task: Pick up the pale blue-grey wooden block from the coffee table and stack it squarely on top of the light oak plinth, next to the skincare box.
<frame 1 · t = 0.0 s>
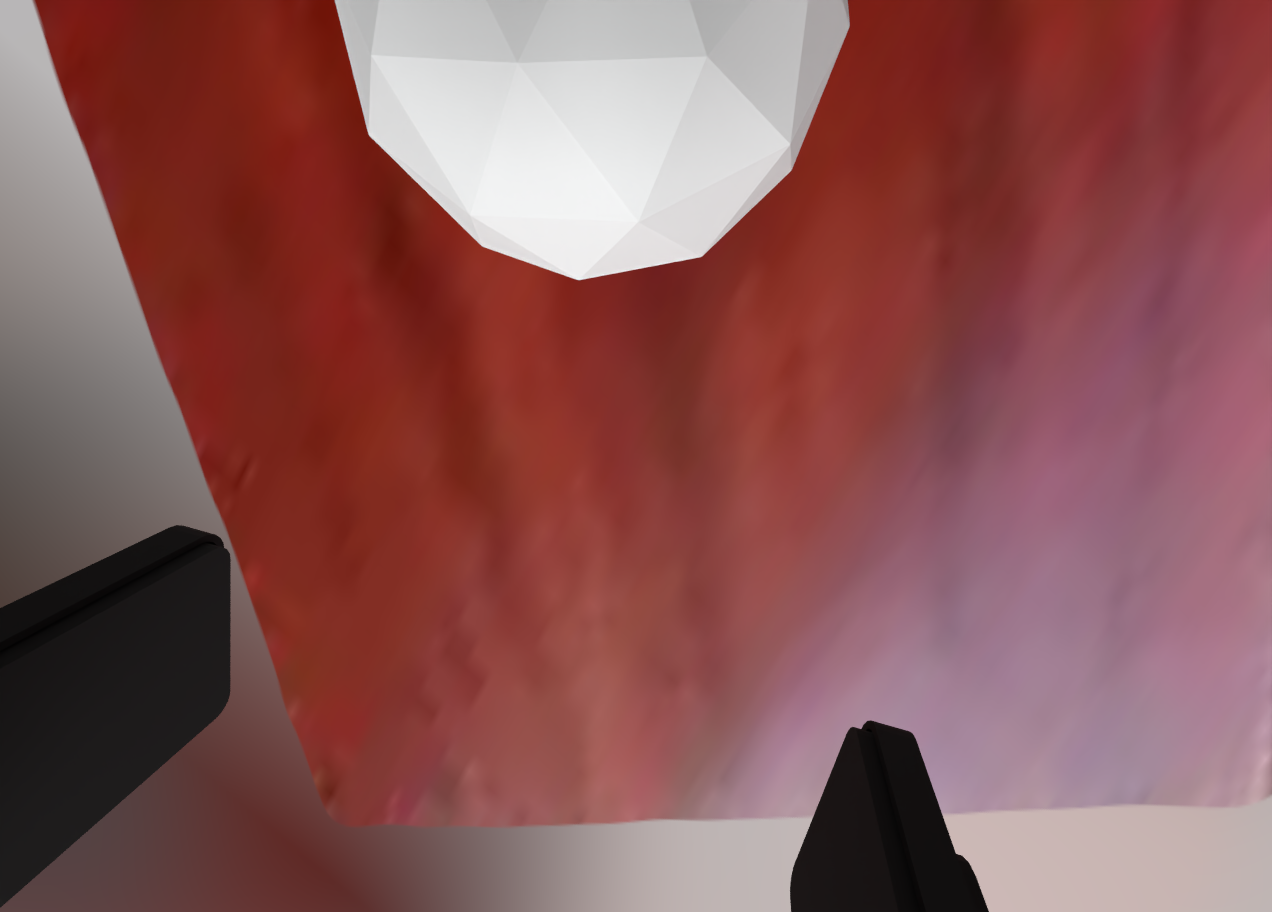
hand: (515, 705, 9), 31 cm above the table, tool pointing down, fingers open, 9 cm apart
geometric sculpture: (633, 84, 35), on the table
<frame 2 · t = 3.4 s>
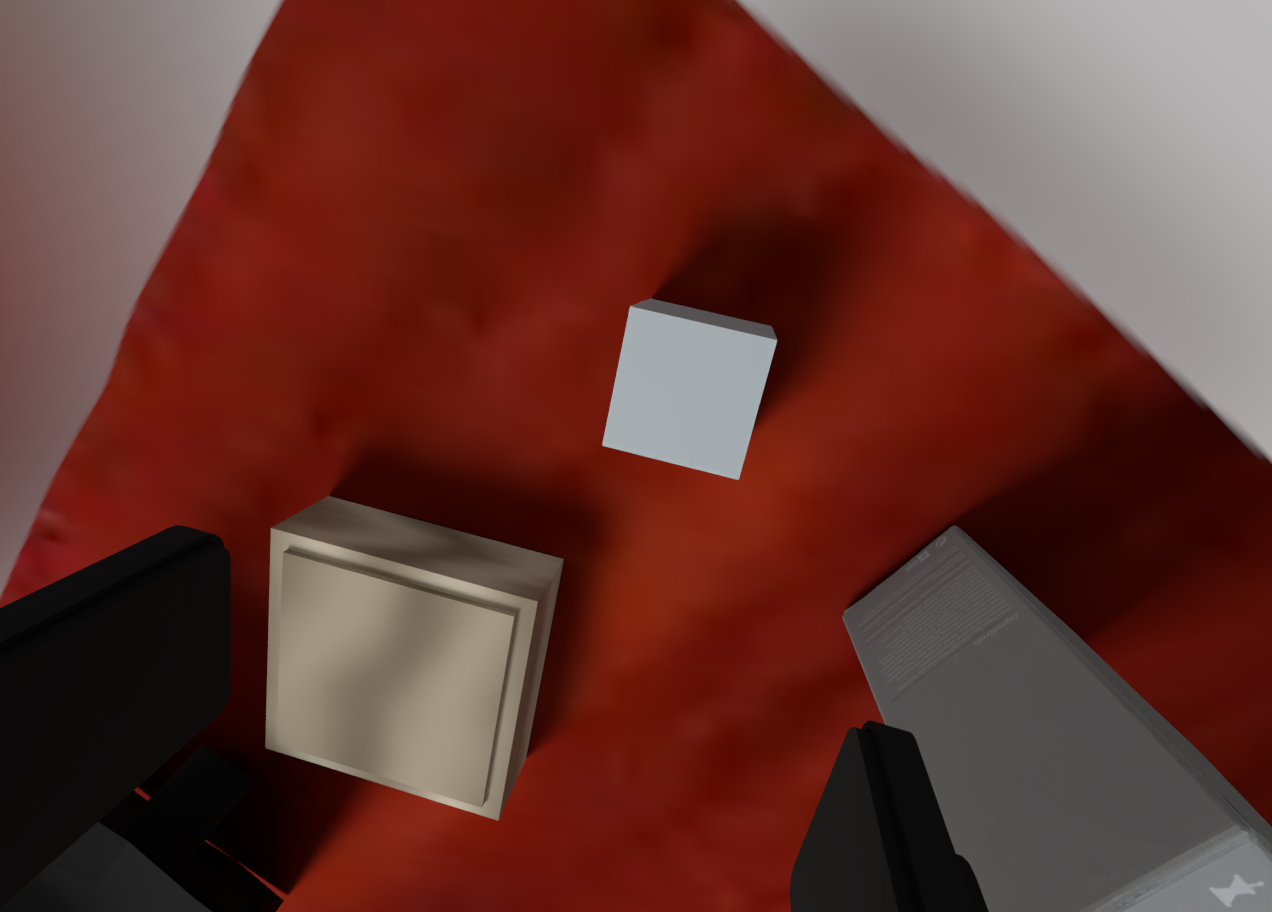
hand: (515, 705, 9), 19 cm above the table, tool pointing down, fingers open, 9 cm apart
plinth: (431, 632, 33), on the table
block: (696, 371, 27), on the table
skincare box: (966, 622, 28), on the table
decorative tree: (191, 826, 40), on the table
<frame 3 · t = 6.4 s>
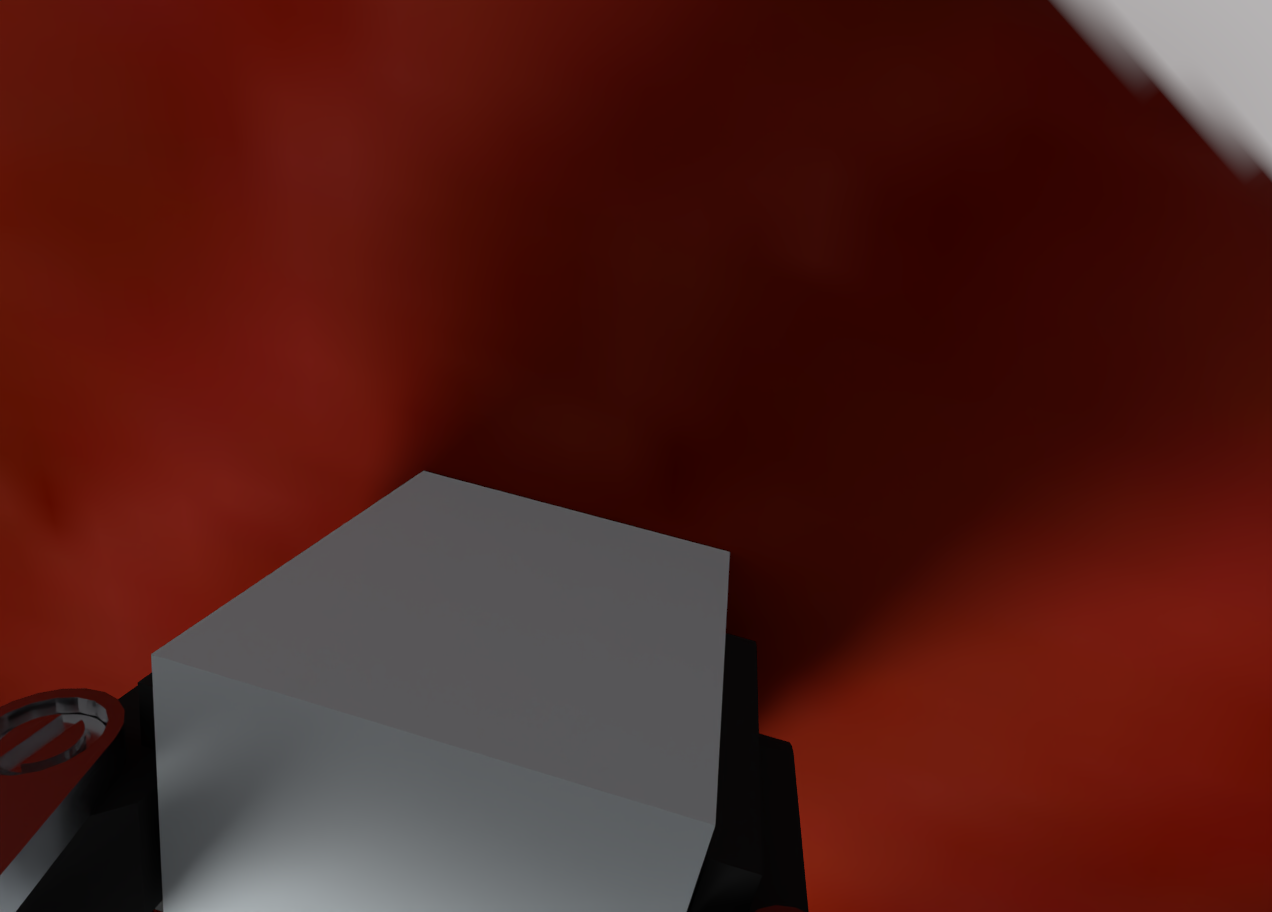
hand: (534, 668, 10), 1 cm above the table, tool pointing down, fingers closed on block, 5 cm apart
block: (547, 643, 11), on the table, touching gripper
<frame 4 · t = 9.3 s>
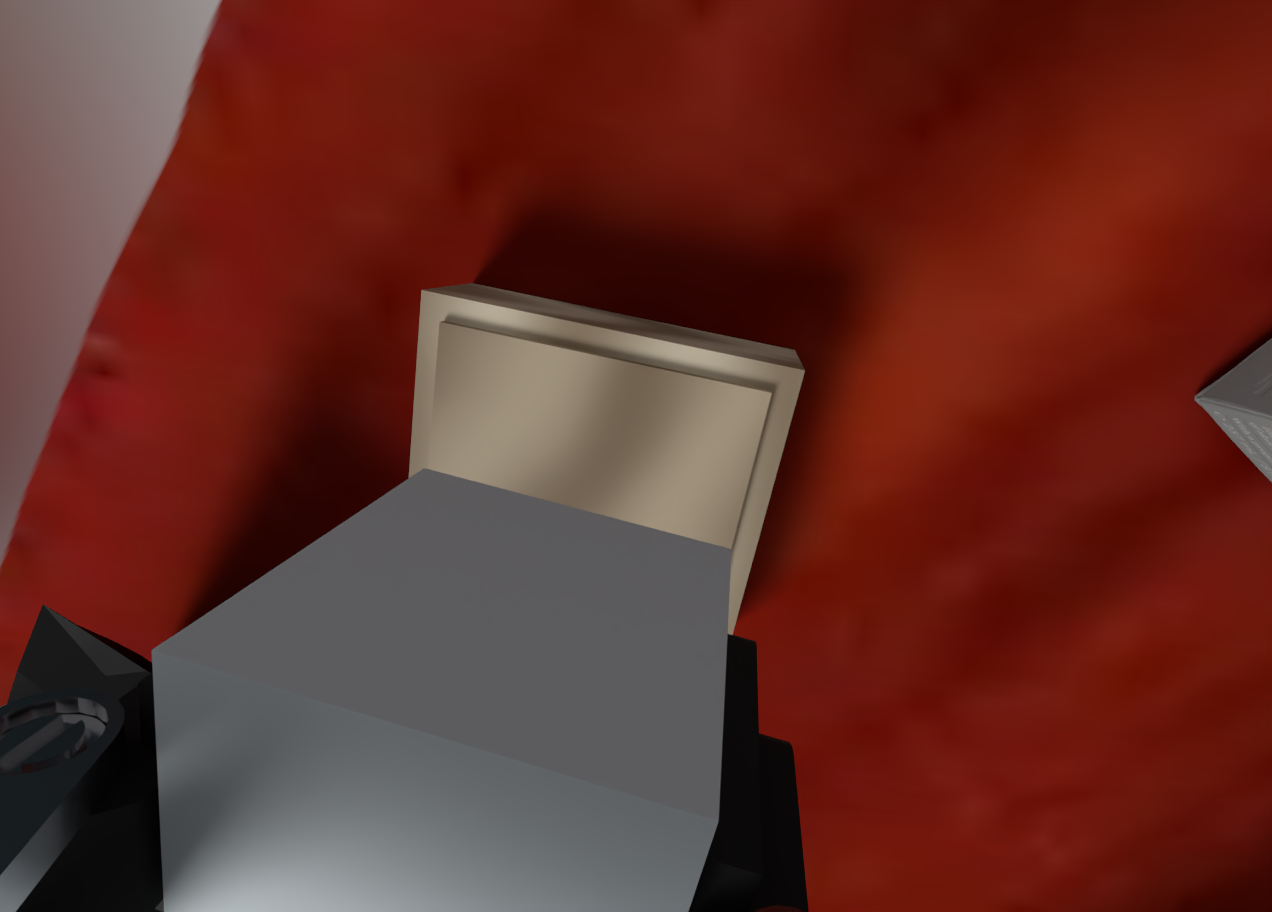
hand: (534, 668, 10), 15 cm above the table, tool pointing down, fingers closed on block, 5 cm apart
plinth: (602, 468, 25), on the table
block: (548, 640, 11), point 14 cm above the table, touching gripper
decorative tree: (279, 747, 33), on the table
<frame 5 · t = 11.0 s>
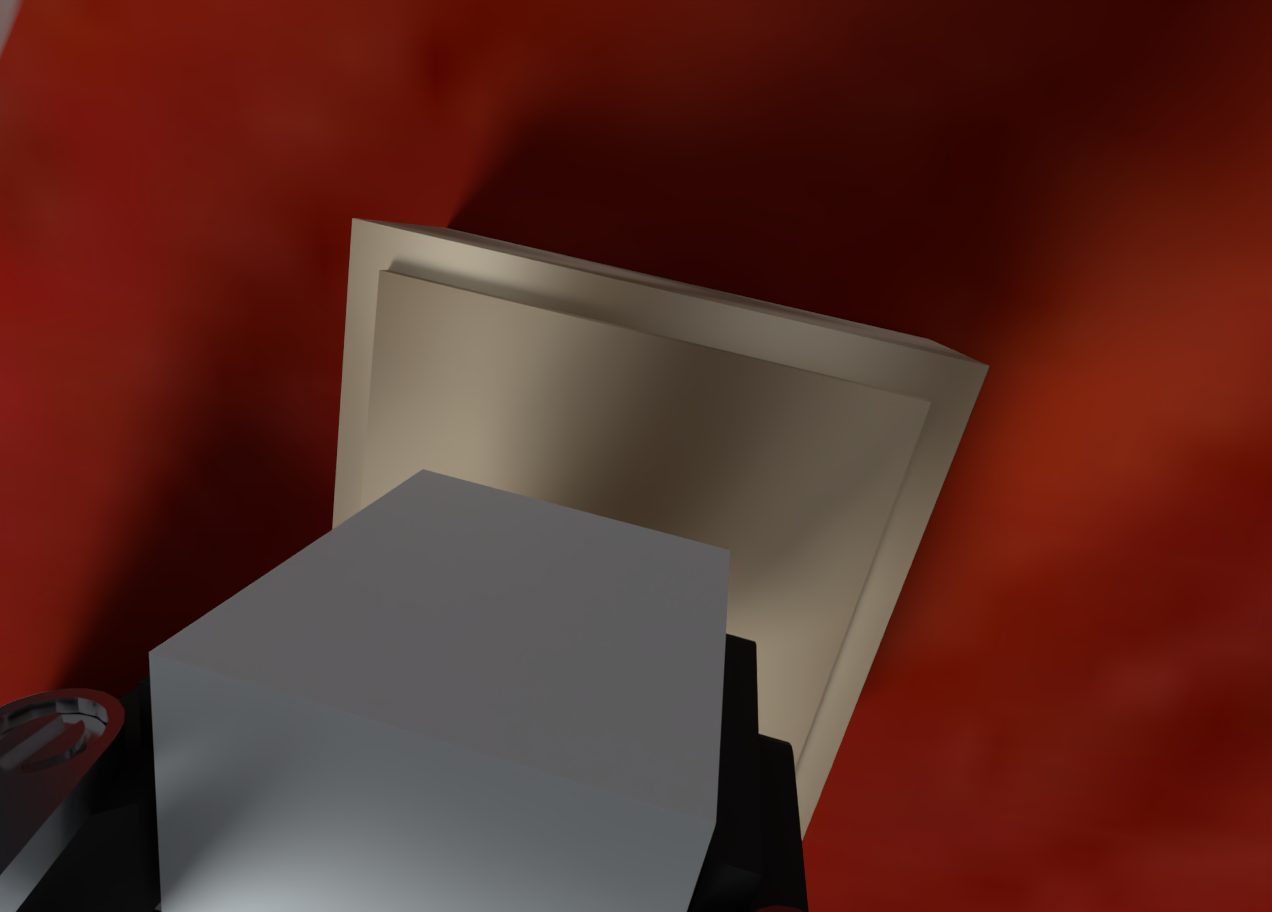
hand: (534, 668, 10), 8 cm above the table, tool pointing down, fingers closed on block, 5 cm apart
plinth: (627, 505, 17), on the table
block: (547, 641, 11), point 7 cm above the table, touching gripper
when the fingers open (6 cm above the table, at t = 12.2 s): block stays where it is, resting on plinth.
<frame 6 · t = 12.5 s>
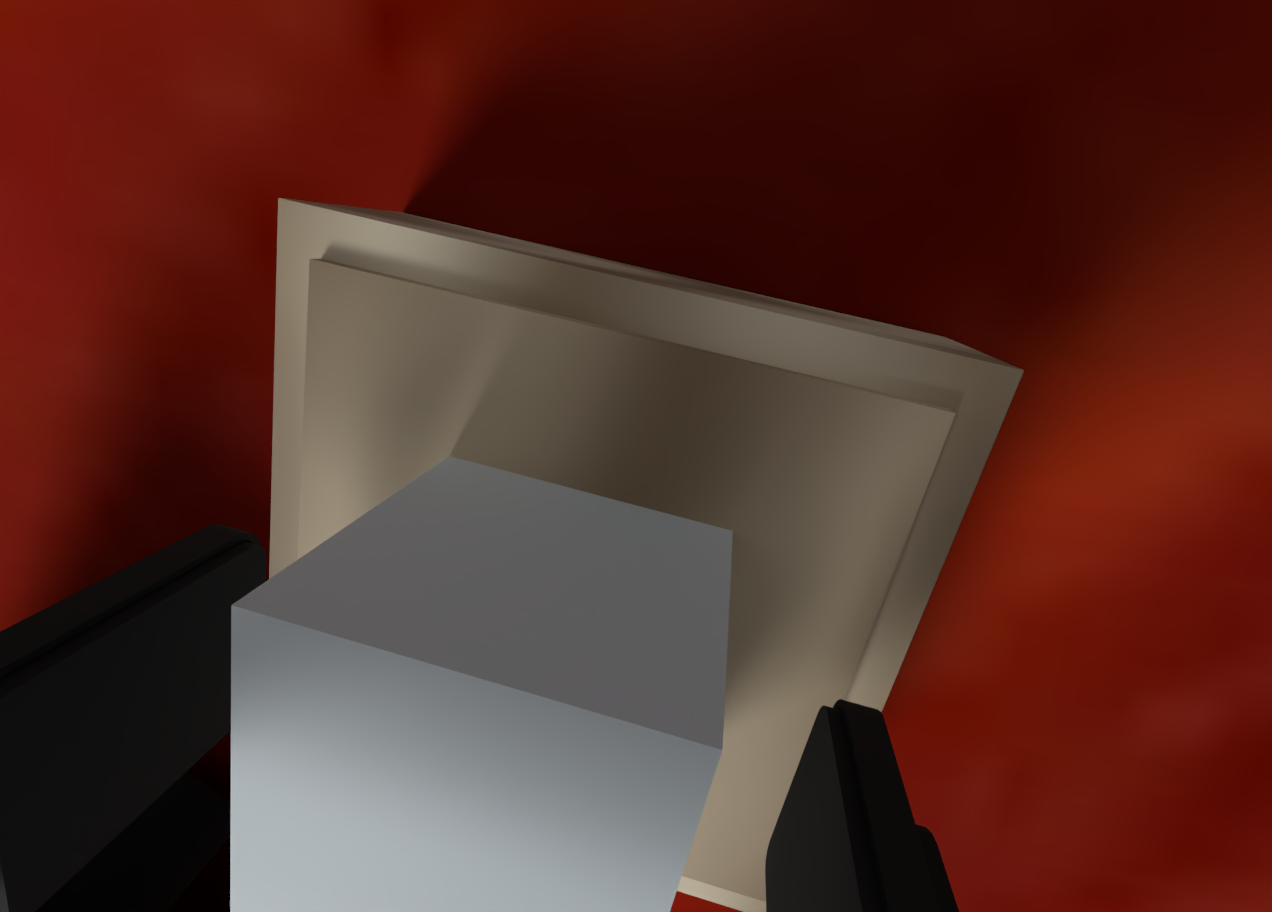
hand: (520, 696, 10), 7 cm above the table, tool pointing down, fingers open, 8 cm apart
plinth: (608, 521, 16), on the table
block: (562, 616, 12), point 4 cm above the table, touching plinth
decorative tree: (138, 885, 23), on the table
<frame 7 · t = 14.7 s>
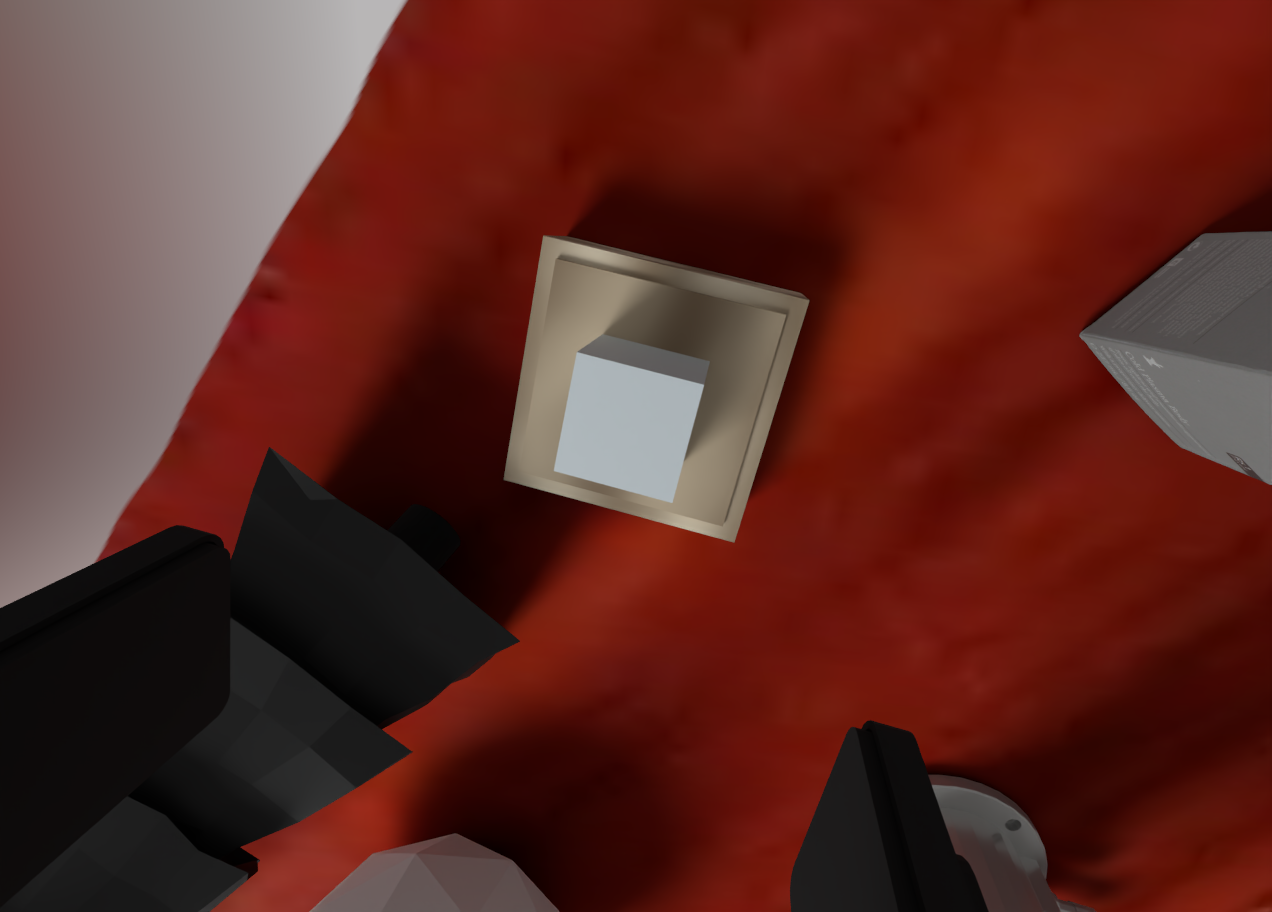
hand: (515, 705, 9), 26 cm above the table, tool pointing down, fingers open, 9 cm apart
plinth: (654, 379, 34), on the table
block: (643, 399, 30), point 4 cm above the table, touching plinth
skincare box: (1196, 342, 30), on the table
geometric sculpture: (481, 877, 48), on the table
decorative tree: (378, 606, 42), on the table
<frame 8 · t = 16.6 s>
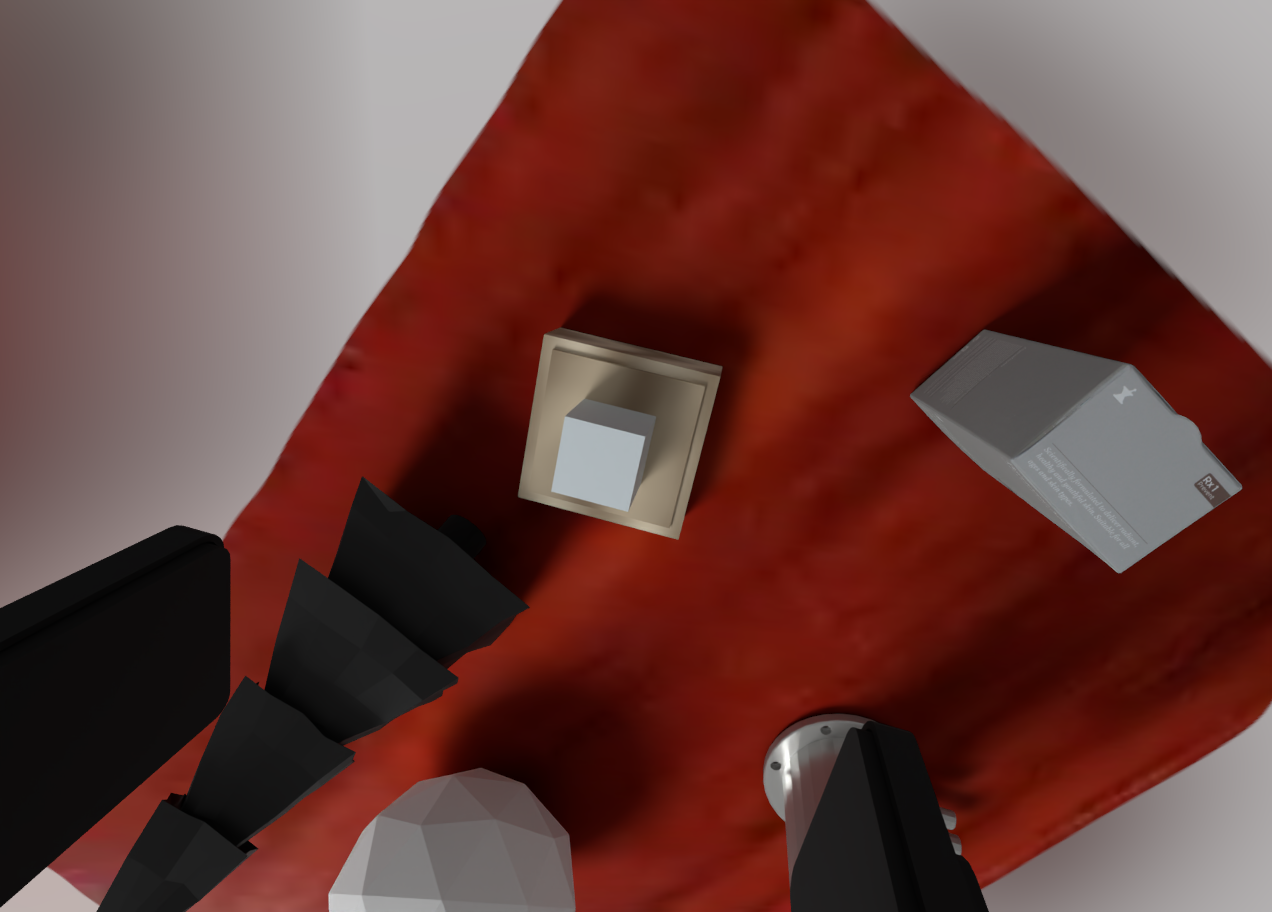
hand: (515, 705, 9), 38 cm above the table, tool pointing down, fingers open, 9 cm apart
plinth: (623, 425, 48), on the table
block: (612, 442, 44), point 4 cm above the table, touching plinth
skincare box: (990, 399, 44), on the table
geometric sculpture: (500, 807, 62), on the table
decorative tree: (424, 591, 56), on the table
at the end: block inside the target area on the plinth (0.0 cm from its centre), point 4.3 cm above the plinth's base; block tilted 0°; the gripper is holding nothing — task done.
